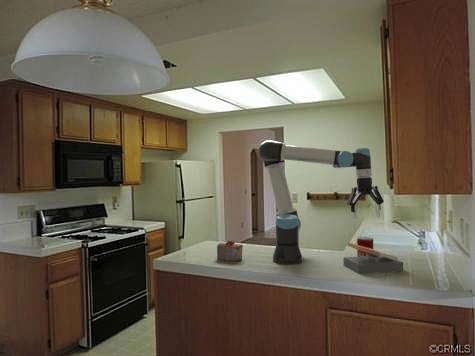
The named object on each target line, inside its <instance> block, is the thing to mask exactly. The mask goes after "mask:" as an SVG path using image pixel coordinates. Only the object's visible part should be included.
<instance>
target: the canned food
mask: <svg viewBox="0 0 475 356" xmlns="http://www.w3.org/2000/svg"><path fill="white" fill-rule="evenodd" d="M356 245H359V246H363V247H367V248H371V249H374V237H371V236H358V237H356ZM356 250H357V249H356ZM356 252H357V255H356V257H359V256H366V254H369V253H366V252H364V251H360V250H357V251H356Z"/></svg>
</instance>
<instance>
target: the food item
mask: <svg viewBox="0 0 475 356" xmlns="http://www.w3.org/2000/svg"><path fill="white" fill-rule="evenodd" d="M243 248H244V245H243V244H240V243H236V242H235V241H233V240H230V241H227V242H219V243H218V244H217V245H216V254H217V255H216V259H217V260H218V261H219V260H220V261H226V262H229V261H230V262H231V261H233V262H238V261H241V260H242V259H243Z"/></svg>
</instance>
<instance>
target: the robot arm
mask: <svg viewBox="0 0 475 356" xmlns="http://www.w3.org/2000/svg"><path fill="white" fill-rule="evenodd" d="M258 154H259V157H260V158H261V160H262V161H263V165H264V168H265V169H266V170H268V175H269V178H270V182H271V188H272V192H273V196H274V199H275V203H276V208H277V212H276V218H275V243H276V244H275V248H274V252H273V254H272V261H273V262H274V263H277V264H282V265H283V264H284V265H296V264H300V263H303V255H302V252H301V250H300V249H301V248H300V245H299V243H300V241H299V239H300V238H299V236H300V235H299V232H300V230H301V226H302V222H301V220H300V218H299V215H298V211H297V208H294V205H293V201H292V198H291V194H290V189H289V186H288V185H289V184H288V180H287V178H286V172H285V169H284V165H285V164H286V162H285V160H286V161H287V160H288V161H293V162H296V161H297V162H303V163H312V164H320V165H321V164H322V165H327V166H328V165H329V166H332V167H333V168H334V169H341V168H343V169H344V168H355V171H356V172H355V174H356V185H357V186H353V187H351V192H350V195H349V197H348V200H347V203H346V204H347V205H348V206H350V211H351V213H352V219H355V220H356V219H358V214H357V212H358V211H357V203H358V201H359V200H360V198H361V197H362V196H369V197H370V198H371V199H372V200H373V201H374V203H375V204H374V211H375V217H377V218H378V217H381V210H382V209H381V208H382V207H381V205H382V204H384V202H385V200H384V198H383V197H382V195H381V193H380V191H379V187H378V186H377V185H373V178H372V160H371V159H372V158H371V150H370V148H367V147H361V148H355V150H354V152H350V151H348V150H344V151H343V150H334V149H326V148H317V147H316V148H315V147H309V146H308V147H307V146H298V145H297V146H296V145H287V144H286V142H280V141H276V140H271V139H270V140H269V139H267V140H265V141H263V142H262V143H261V144H260V146H259V147H258Z"/></svg>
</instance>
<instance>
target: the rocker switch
mask: <svg viewBox="0 0 475 356" xmlns="http://www.w3.org/2000/svg"><path fill="white" fill-rule="evenodd" d="M347 246H348V247H350V248H353V249H354V250H355V249H356V250H360V251H364V252H366V253H369V254H371V255H374V256H376V257H379V256H383V257H387V258H391V259H394V260H398V258H399V256H396V255H393V254H391V253H388V252H385V251H381V250H378V249H374V248H373V249H371V248H367V247H363V246H359V245H357V243H356V244H355V243H351V242H348V243H347Z"/></svg>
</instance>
